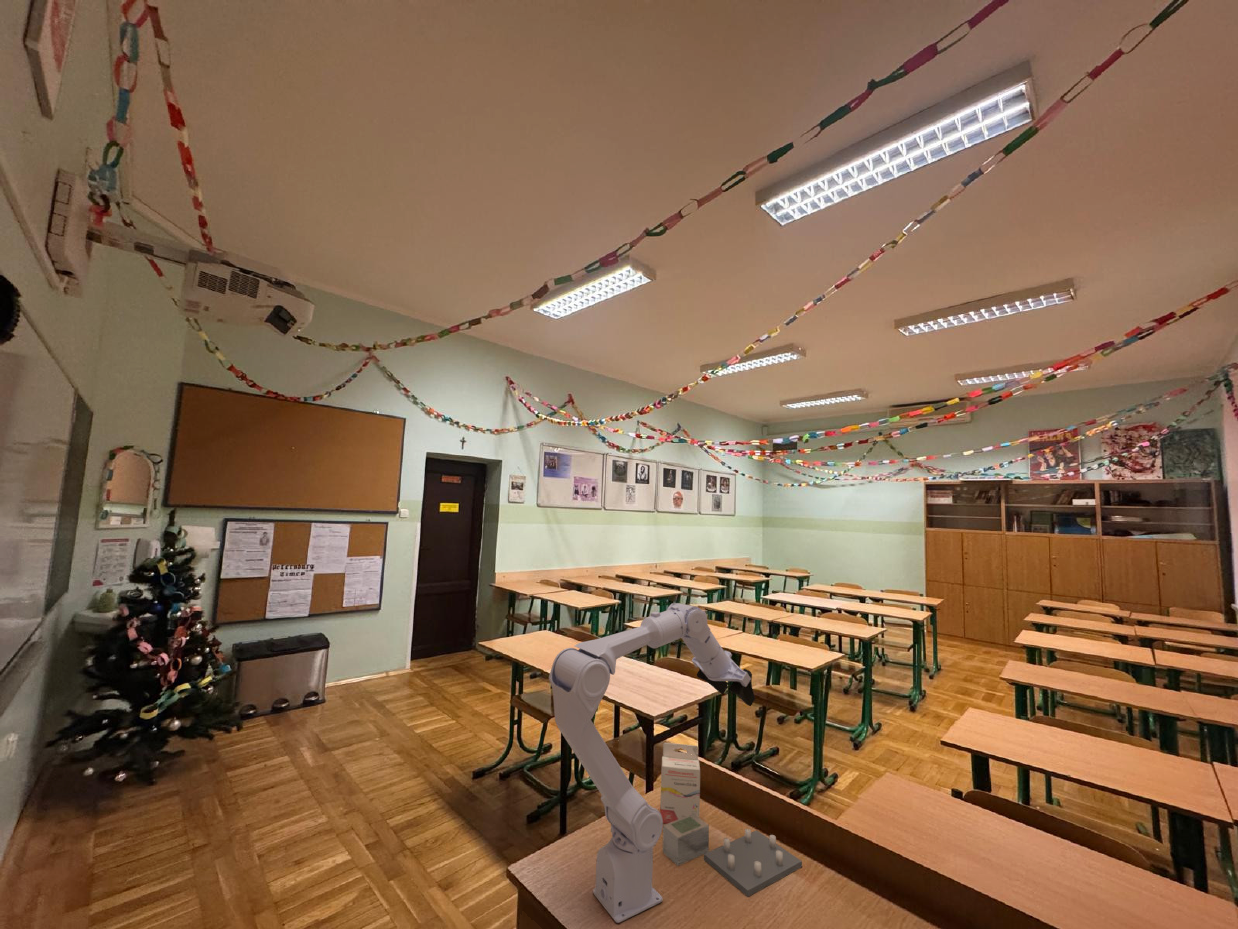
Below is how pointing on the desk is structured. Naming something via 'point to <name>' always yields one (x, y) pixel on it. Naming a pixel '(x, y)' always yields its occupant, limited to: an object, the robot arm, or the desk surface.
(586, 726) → the robot arm
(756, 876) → the pin tray
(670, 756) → the ink cartridge box
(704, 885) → the desk surface
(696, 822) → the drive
